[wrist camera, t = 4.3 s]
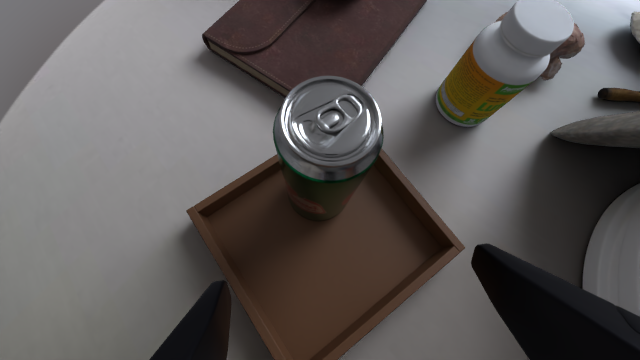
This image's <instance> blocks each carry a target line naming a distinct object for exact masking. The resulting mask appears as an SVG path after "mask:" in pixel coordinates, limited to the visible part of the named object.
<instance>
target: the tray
mask: <svg viewBox="0 0 640 360" xmlns="http://www.w3.org/2000/svg"><path fill="white" fill-rule="evenodd" d="M187 213H188V215H189V216H190V218H191V220H192V221H193V223H194V225H195V227H196V228H197V230H198V232H199V233H200V235H201V237H202V238H203V240H204V242H205V243H206V245H207V247H208V249H209V250H210V252H211V254H212V255H213V257H214V259H215V260H216V262H217V264H218V265H219V267H220V269H221V270H222V272H223V274H224V276H225V277H226V279H227V281H228V282H229V284H230V286H231V287H232V289H233V291H234V292H235V294H236V296H237V297H238V299H239V301H240V303H241V304H242V306H243V308H244V309H245V311H246V313H247V314H248V316H249V318H250V319H251V321H252V323H253V325H254V326H255V328H256V330H257V331H258V333H259V335H260V336H261V338H262V340H263V341H264V343H265V345H266V346H267V348H268V350H269V352H270V353H271V355H272V357H273V358H274V360H337V359H338V358H340V357H341V356H342V355H343V354H344V353H345V352H346V351H348V350H349V349H350V348H351V347H352V346H353V345H355V344H356V343H357V342H358V341H359V340H360V339H361V338H363V337H364V336H365V335H366V334H367V333H368V332H369V331H371V330H372V329H373V328H374V327H375V326H376V325H377V324H379V323H380V322H381V321H382V320H383V319H384V318H386V317H387V316H388V315H389V314H390V313H391V312H392V311H394V310H395V309H396V308H397V307H398V306H399V305H400V304H402V303H403V302H404V301H405V300H406V299H407V298H408V297H410V296H411V295H412V294H413V293H414V292H415V291H416V290H418V289H419V288H420V287H421V286H422V285H423V284H425V283H426V282H427V281H428V280H429V279H430V278H431V277H433V276H434V275H435V274H436V273H437V272H438V271H439V270H441V269H442V268H443V267H444V266H445V265H446V264H447V263H449V262H450V261H451V260H452V259H453V258H454V257H456V256H457V255H458V254H459V253H460V252H461V251H462V250H463V249H465V247H464V245H463V244H462V243H461V242H460V241H459V240H458V238H457V237H456V236H455V235H454V234H453V232H452V231H451V230H450V229H449V228H448V227H447V225H446V224H445V223H444V222H443V221H442V219H441V218H440V217H439V216H438V215H437V213H436V212H435V211H434V210H433V209H432V208H431V206H430V205H429V204H428V203H427V202H426V200H425V199H424V198H423V197H422V196H421V195H420V193H419V192H418V191H417V190H416V189H415V187H414V186H413V185H412V184H411V183H410V181H409V180H408V179H407V178H406V177H405V176H404V174H403V173H402V172H401V171H400V170H399V168H398V167H397V166H396V165H395V164H394V163H393V161H392V160H391V159H390V158H389V157H388V155H387V154H386V153H385V152H384V151H383V149H382V148H381V151H380V154H379V156H378V157H377V159H376V161H375V163H374V164H373V166H372V167H371V169H370V170H369V172H368V173H367V175H366V176H365V178H364V179H363V181H362V182H361V184H360V185H359V187H358V188H357V190H356V191H355V193H354V194H353V196H352V197H351V199H350V200H349V202H348V203H347V205H346V206H345V208H344V209H343V210H342V212H341V213H339V214H338V215H337V216H336V217H334V218H332V219H330V220H326V221H320V222H319V221H311V220H308V219H305V218H303V217H302V216H300V215H299V214H298V213H296V211H295V210H294V209H293V208H292V206H291V204H290V202H289V199H288V195H287V191H286V187H285V183H284V179H283V175H282V171H281V167H280V163H279V159H278V155H275V156H273V157H272V158H270V159H269V160H267V161H265V162H264V163H262V164H261V165H259V166H257V167H256V168H254V169H253V170H251V171H249V172H248V173H246V174H245V175H243V176H241V177H240V178H238V179H236V180H235V181H233V182H232V183H230V184H228V185H227V186H225V187H224V188H222V189H220V190H219V191H217V192H216V193H214V194H212V195H211V196H209V197H208V198H206V199H204V200H203V201H201V202H200V203H198V204H196V205H195V206H193V207H191V208H190V209H188V210H187Z"/></svg>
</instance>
